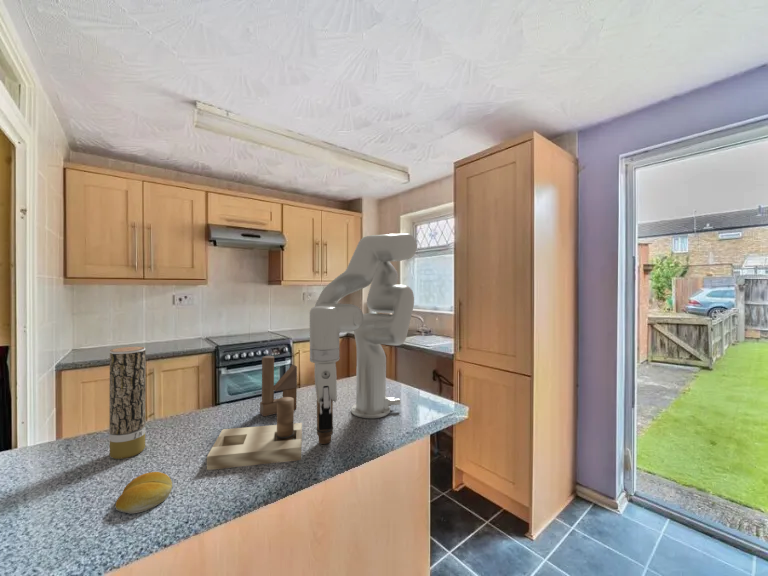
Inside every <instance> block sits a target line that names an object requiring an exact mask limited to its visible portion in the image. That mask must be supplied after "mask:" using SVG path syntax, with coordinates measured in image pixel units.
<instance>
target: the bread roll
mask: <svg viewBox="0 0 768 576" xmlns="http://www.w3.org/2000/svg"><path fill="white" fill-rule="evenodd" d="M172 488H173V481H172V479H171V478H170V476H169V475H168V474H166V473H164V472H161V471H150V472H146V473H143V474H140V475H138V476H137V477H135V478H133V480H131V481H130V482H128V484H127V485H126V486H125V487H124V489H123V491H122V493H121V494H120V495H119V497H118V498H117V499H116V502H115V509H116V511H118V512H122V513H125V514H138V513H142V512H146V511H148V510H150V509H152V508H154V507H157V506H158V505H160V504H161V503H163V502H165V501H166V500H167V498H169V496H170V494H171V493H172Z"/></svg>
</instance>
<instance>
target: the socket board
mask: <svg viewBox="0 0 768 576" xmlns="http://www.w3.org/2000/svg"><path fill="white" fill-rule="evenodd" d="M293 431H294V436H293V440H284V441H277V437H276V434H277V424H270V425H260V426H259V425H258V426H248V427H235V428H224V429H221V431H220V433H219V435H218V436H217V438H216V440H215V442H214V444H213V445H212V447H211V448H210V451H209V452H208V454H207V456H206V471H213V470H221V469H222V470H223V469H230V468H238V467H239V468H240V467H248V466H249V467H250V466H257V465H259V466H260V465H268V464H275V463H276V464H278V463H284V462H285V463H286V462H294V461H295V462H296V461H302V447H303V446H302V444H303V441H302V440H303V437H302V436H303V422H297V423H294V430H293Z"/></svg>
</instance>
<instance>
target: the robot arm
mask: <svg viewBox="0 0 768 576" xmlns="http://www.w3.org/2000/svg"><path fill="white" fill-rule="evenodd" d="M416 252H417V241H416V239H415V237H414V235H412V234H411V233H389V234H388V233H386V234H372V235H365V236H364V237H362V238H361V239H360V240H359V242H358V243H357V245H356V248H355V250H354V252H353V254H352V257H351V258H350V261H349V263H348V265H347V267H346V269H345V271H343V272H342V273H341V274H339V275H338V276H337V277H335V278H334V279H333V280H332V281H331V282H329V283H328V284H327V285H326V286H325V287H324V288H323V289H322V291H321V293H320V294H319V296H318V298H317V300H316V302H315V305H314V306H313V307H312V308H311V309H310V310H309V362H311V363H312V364H313V363H314V387H315V396H316V403H317V402H318V403H320V413H319V430H326V429H331V428H332V412H331V399H332V401H333V403H336V402H337V401H338V388H337V385H338V384H337V364H336V363H337V362H339V361H340V334H341V332H343V333H344V332H348V333H349V332H353V334H354V339H355V347H356V348H355V349H356V350H355V351H356V371H355V372H356V375H355V376H356V379H355V380H356V387H355V388H356V389H355V390H356V392H355V394H356V398H355V403H354V404H353V405H352V406H351V414H352V415H354V416H355V417H358V418H363V419H379V418H383V417H387V416H388V415H390V412H391V406H399V405H401V399H400V398H395V397H394V396H392V397H388V396H387V395H386V394H387V393H386V391H387V387H386V386H387V356H386V353H385V350H384V348H383V345H387V346H401V345H403V344H404V343H405V341H406V339H407V336H408V333H409V329H410V325H411V320H412V314H413V311H414V304H415V294H414V291H413V290H412V288H411V287H410V286H409V285H405V284H398V279H399V273H398V271H397V269H396V268H395V266H394V265H393V264H392V262H401V261H407V260H410V259H411V258H413V257H414V256H415V254H416ZM369 286H370V287H369ZM366 287H367V288H368V287H369V290H368V293H367V297H366V306H367V308H368V310H370V311H371V312H372V313H371V312H370V313H368V312H367V313H363V311H362V309H361V308H360V307H359V306H358V305H356V304H352V303H342V302H341V303H339V301H341V300H342V299H343V298H345V297H346V296H348V295H350V294H353V293H355V292H358V291H360V290H362V289H364V288H366ZM321 397H322V398H321ZM321 399H323V401H321ZM322 404H324V405H323V406H322Z"/></svg>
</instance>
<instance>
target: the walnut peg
mask: <svg viewBox="0 0 768 576" xmlns="http://www.w3.org/2000/svg"><path fill="white" fill-rule="evenodd" d="M321 398H322V397H321ZM321 401H323V399H321ZM333 403H334V401H332V399H331V412H332V428H331V429H326V430H319V413H320V403H318V402H317V401H316V435H317V436H318V443H319V444H321V445H326V444H330V443H331V442H332V435H333V433H334V431H333V430H334V424H333V423H334V422H333V421H334V420H333V417H334V413H333V412H334V411H333V409H334V407H333V406H334V404H333ZM323 405H324V404H322V406H323Z"/></svg>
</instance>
